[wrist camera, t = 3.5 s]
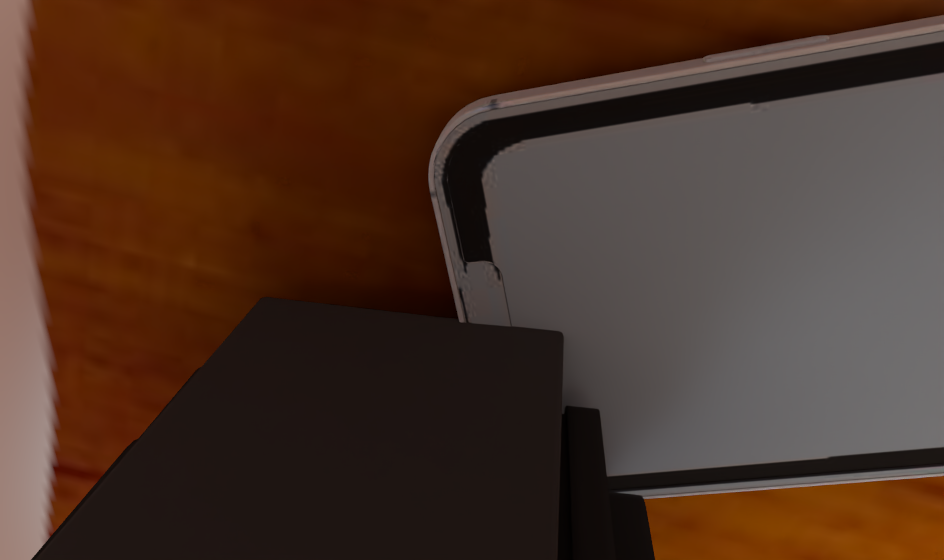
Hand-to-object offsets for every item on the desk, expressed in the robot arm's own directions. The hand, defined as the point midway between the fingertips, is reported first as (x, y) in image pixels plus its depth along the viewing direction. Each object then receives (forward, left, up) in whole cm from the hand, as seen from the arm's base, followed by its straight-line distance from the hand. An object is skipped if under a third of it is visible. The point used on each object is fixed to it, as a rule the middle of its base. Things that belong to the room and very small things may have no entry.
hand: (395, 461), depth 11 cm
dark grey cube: (0, 0, -1) cm, 1 cm away
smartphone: (-4, +8, -2) cm, 9 cm away
